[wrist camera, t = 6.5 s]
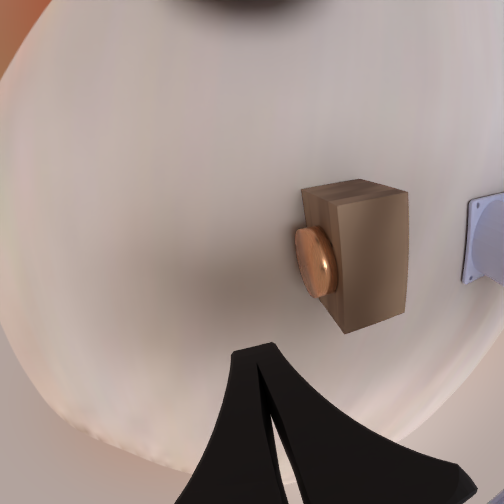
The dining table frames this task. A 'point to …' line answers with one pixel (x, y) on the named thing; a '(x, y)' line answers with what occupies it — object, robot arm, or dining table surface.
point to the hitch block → (363, 249)
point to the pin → (316, 261)
